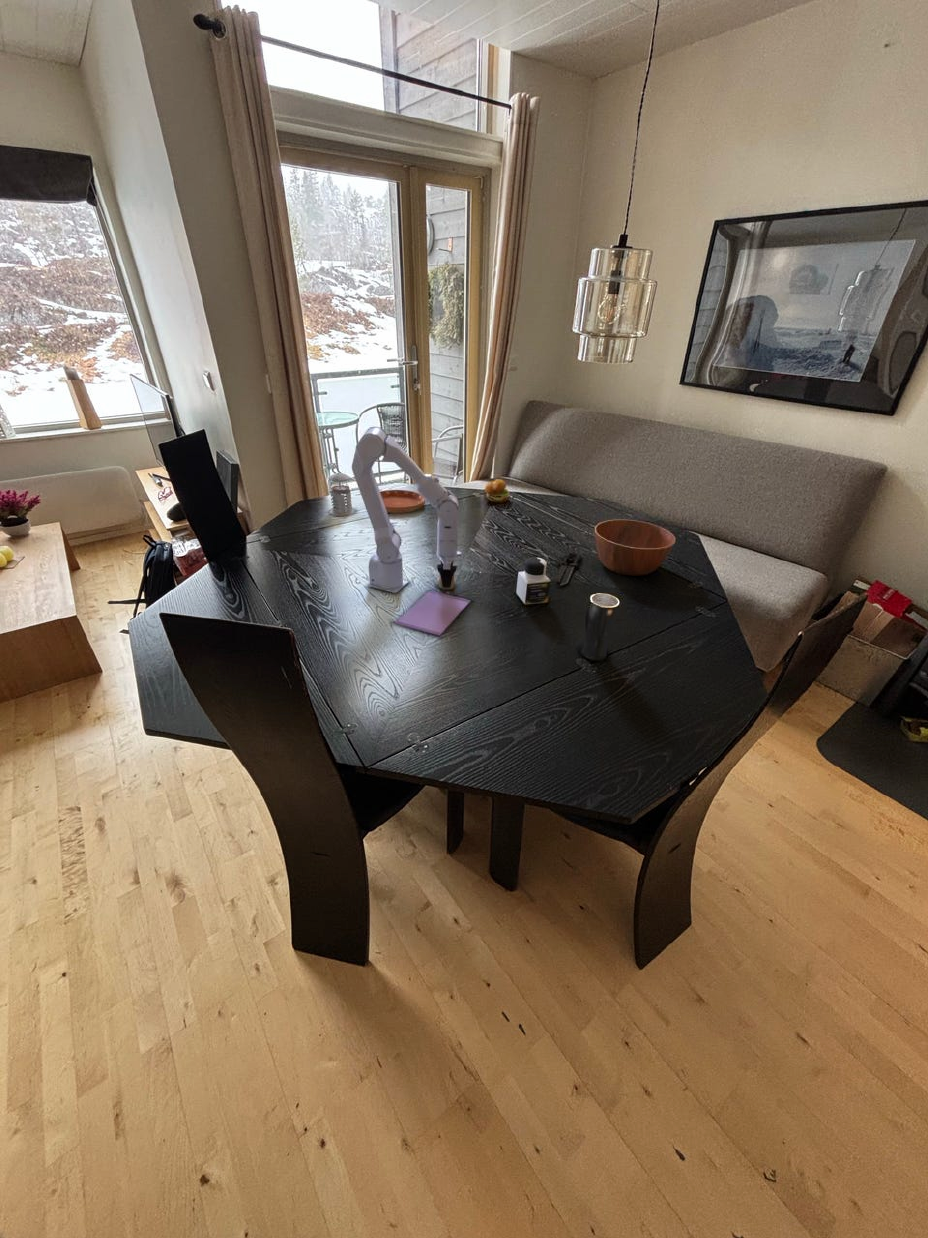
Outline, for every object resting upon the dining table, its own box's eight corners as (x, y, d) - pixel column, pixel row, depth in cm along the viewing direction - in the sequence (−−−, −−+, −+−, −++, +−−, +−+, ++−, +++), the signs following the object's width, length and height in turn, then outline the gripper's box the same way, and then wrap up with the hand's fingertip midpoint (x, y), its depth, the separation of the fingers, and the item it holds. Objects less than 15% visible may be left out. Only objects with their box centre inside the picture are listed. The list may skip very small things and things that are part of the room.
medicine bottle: (524, 605, 141) (529, 566, 135) (515, 593, 147) (519, 555, 140) (547, 602, 143) (553, 564, 136) (538, 591, 149) (543, 553, 142)
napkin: (394, 623, 130) (394, 622, 130) (429, 591, 146) (429, 590, 146) (439, 636, 126) (439, 634, 126) (470, 601, 142) (470, 600, 142)
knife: (564, 588, 151) (565, 584, 150) (544, 583, 153) (544, 579, 152) (584, 557, 170) (585, 554, 169) (566, 553, 172) (567, 550, 172)
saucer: (404, 494, 222) (404, 486, 220) (435, 508, 207) (436, 499, 205) (359, 503, 209) (358, 495, 207) (389, 519, 195) (389, 510, 193)
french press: (347, 506, 206) (341, 443, 193) (361, 514, 199) (356, 449, 186) (325, 510, 201) (318, 446, 188) (339, 519, 193) (332, 452, 180)
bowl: (574, 563, 166) (579, 531, 160) (614, 544, 181) (620, 514, 175) (643, 591, 151) (651, 556, 145) (680, 567, 166) (689, 535, 160)
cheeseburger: (515, 501, 218) (513, 479, 212) (495, 510, 215) (492, 488, 208) (502, 494, 225) (499, 473, 219) (482, 502, 222) (479, 482, 216)
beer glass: (587, 642, 126) (597, 589, 118) (613, 653, 122) (625, 599, 114) (574, 654, 121) (583, 600, 113) (600, 665, 118) (612, 611, 110)
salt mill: (436, 587, 148) (436, 564, 144) (443, 581, 151) (443, 559, 148) (450, 591, 147) (450, 568, 143) (456, 584, 150) (457, 562, 146)
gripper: (462, 548, 135) (460, 592, 142) (461, 528, 147) (459, 570, 154) (435, 548, 135) (435, 592, 142) (437, 528, 147) (437, 569, 154)
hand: (446, 581), depth 148 cm, fingers open, 7 cm apart
